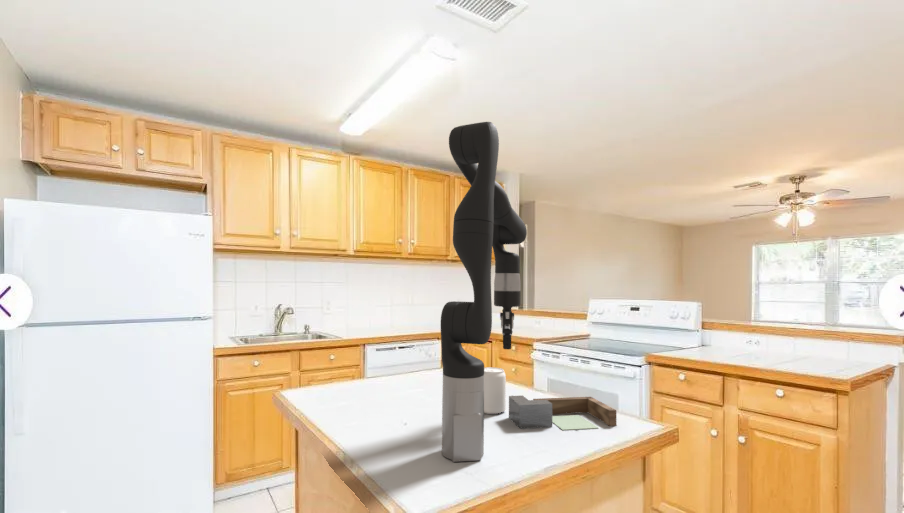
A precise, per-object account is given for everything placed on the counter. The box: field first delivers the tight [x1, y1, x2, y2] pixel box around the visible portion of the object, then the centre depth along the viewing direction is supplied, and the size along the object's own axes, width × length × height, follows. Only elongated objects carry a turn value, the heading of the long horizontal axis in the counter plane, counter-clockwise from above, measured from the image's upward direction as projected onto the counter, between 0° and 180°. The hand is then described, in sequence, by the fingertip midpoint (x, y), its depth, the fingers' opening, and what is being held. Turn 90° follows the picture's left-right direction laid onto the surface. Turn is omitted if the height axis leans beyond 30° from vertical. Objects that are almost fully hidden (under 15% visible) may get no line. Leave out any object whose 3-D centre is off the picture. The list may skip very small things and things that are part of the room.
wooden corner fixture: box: [532, 396, 617, 427], centre depth 123 cm, size 14×18×4 cm
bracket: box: [508, 395, 553, 430], centre depth 120 cm, size 9×9×6 cm
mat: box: [552, 414, 599, 431], centre depth 120 cm, size 11×10×1 cm
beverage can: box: [484, 366, 507, 415], centre depth 130 cm, size 8×8×12 cm
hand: (506, 346), depth 125 cm, fingers open, 8 cm apart
